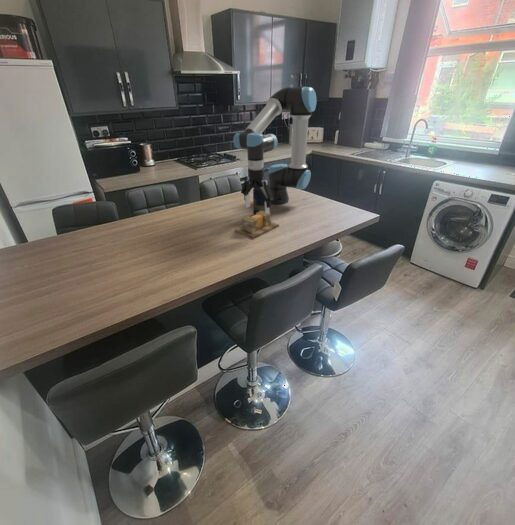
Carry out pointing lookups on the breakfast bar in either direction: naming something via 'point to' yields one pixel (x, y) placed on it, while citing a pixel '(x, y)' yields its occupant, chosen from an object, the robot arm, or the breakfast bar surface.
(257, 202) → the canister
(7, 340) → the breakfast bar surface
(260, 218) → the orange rectangular block
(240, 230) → the shaft bench
